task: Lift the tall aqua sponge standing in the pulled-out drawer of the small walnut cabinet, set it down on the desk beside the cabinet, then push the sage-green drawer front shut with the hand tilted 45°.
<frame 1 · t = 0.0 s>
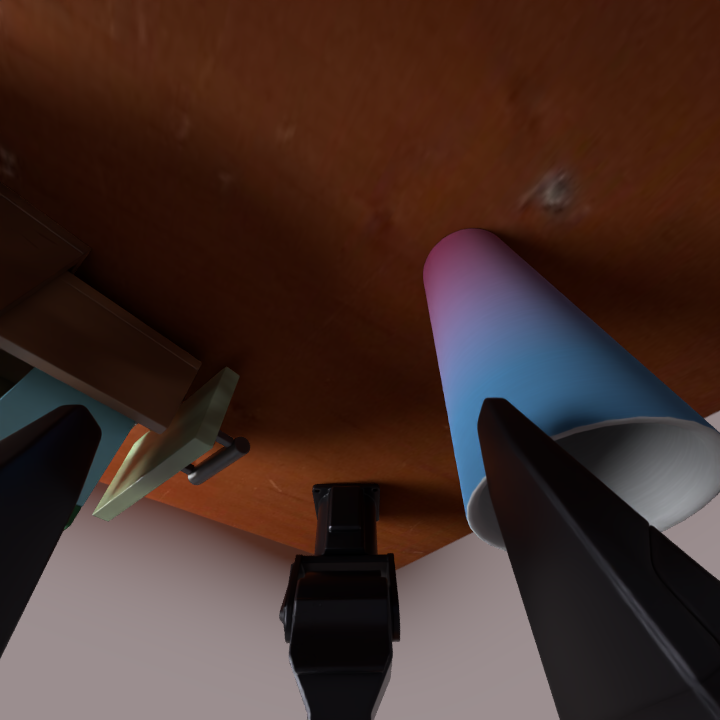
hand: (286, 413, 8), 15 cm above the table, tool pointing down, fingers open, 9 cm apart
sponge: (100, 378, 24), point 2 cm above the table, touching drawer
cup: (464, 268, 22), on the table
drawer: (116, 418, 24), point 4 cm above the table, slide at 10.0 cm, touching sponge
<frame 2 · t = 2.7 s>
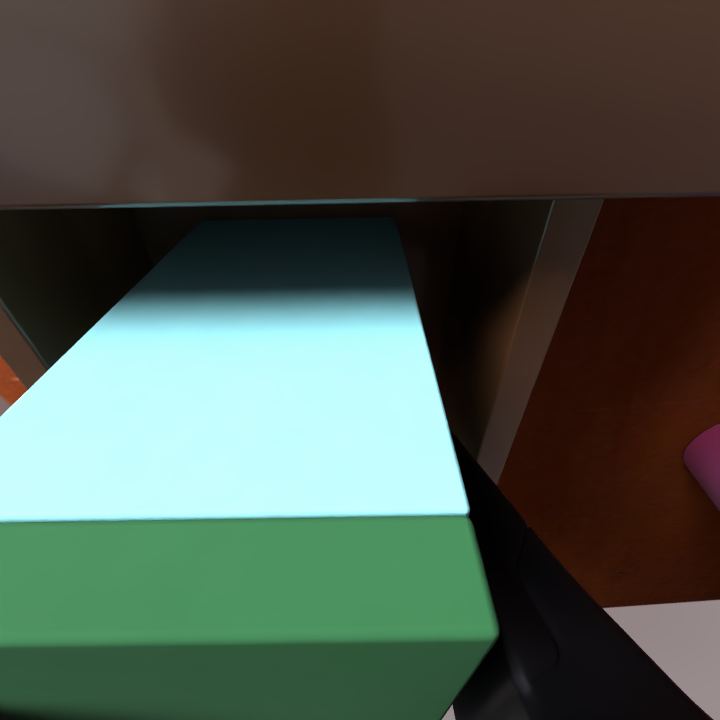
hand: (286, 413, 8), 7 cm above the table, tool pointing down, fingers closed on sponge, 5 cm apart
sponge: (308, 303, 12), point 2 cm above the table, touching drawer, gripper
drawer: (308, 393, 12), point 4 cm above the table, slide at 10.0 cm, touching sponge
when the fingers open (5 cm above the table, at t = 7.9 s): sponge stays where it is, on the table.
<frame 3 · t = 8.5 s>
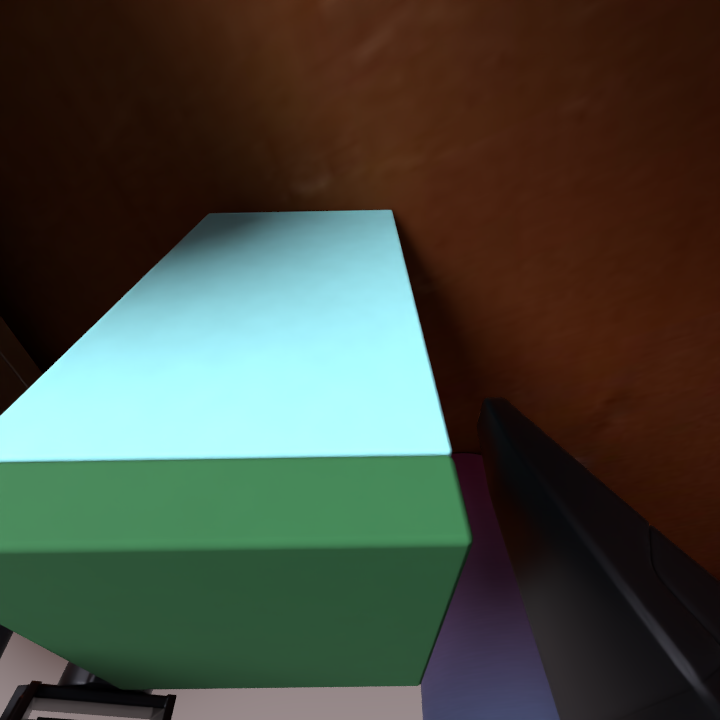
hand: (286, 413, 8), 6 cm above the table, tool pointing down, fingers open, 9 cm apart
sponge: (309, 293, 13), on the table
cup: (454, 478, 20), on the table
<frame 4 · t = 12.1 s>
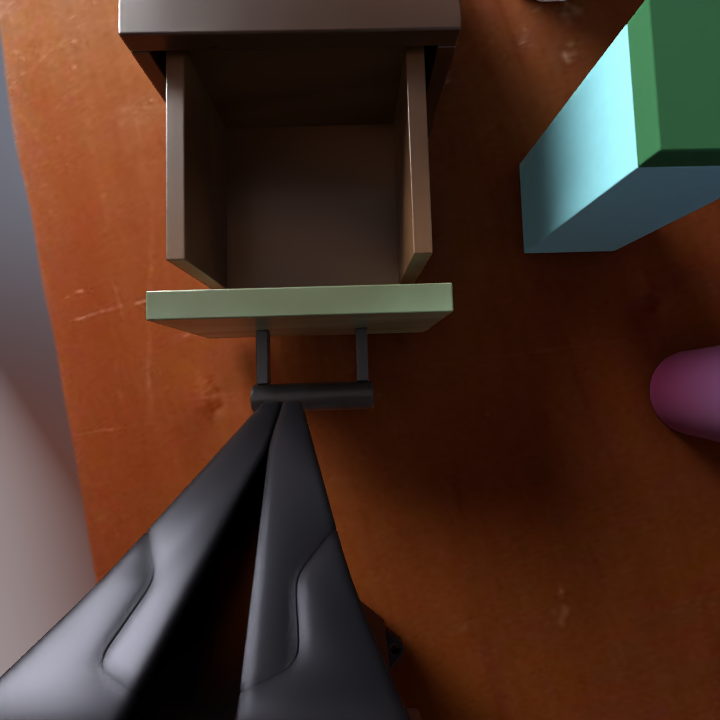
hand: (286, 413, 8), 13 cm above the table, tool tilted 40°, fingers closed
sponge: (566, 207, 23), on the table
cabinet: (311, 51, 23), on the table
cup: (687, 392, 22), on the table
drawer: (308, 243, 18), point 4 cm above the table, slide at 10.0 cm
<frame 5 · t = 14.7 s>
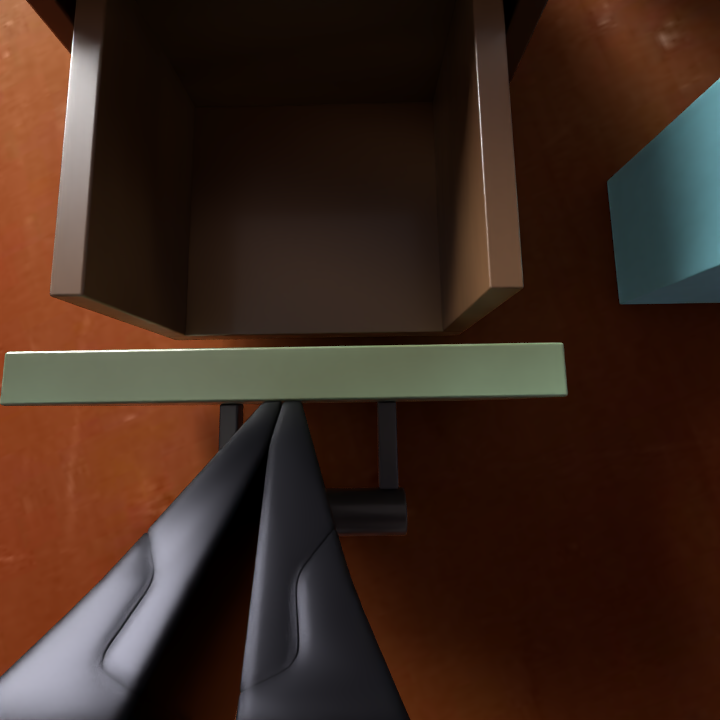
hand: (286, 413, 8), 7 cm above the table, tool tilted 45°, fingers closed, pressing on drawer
sponge: (677, 240, 16), on the table
cabinet: (319, 34, 17), on the table
drawer: (305, 268, 12), point 4 cm above the table, slide at 9.2 cm, touching gripper
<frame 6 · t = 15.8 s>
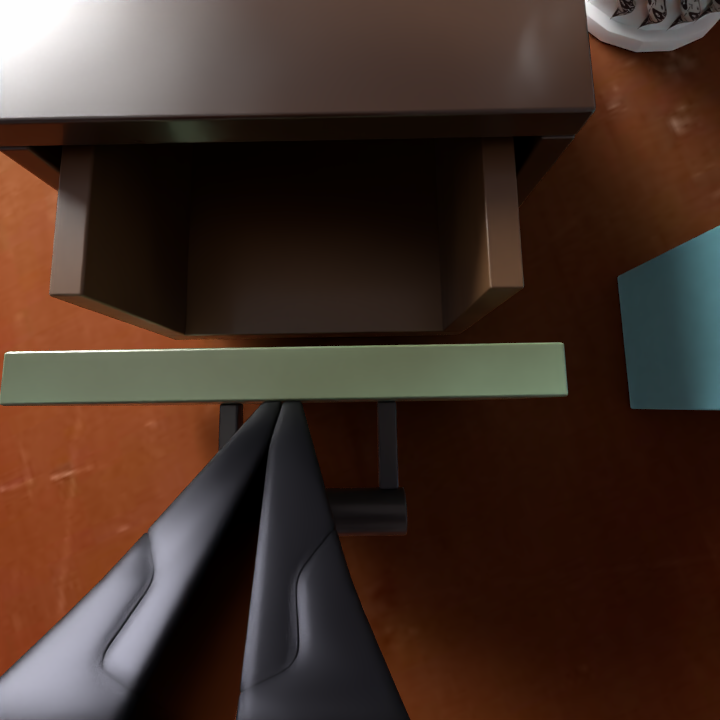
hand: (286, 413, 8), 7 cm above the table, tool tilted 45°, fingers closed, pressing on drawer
sponge: (690, 340, 15), on the table
cabinet: (319, 118, 17), on the table
drawer: (305, 268, 12), point 4 cm above the table, slide at 4.8 cm, touching gripper
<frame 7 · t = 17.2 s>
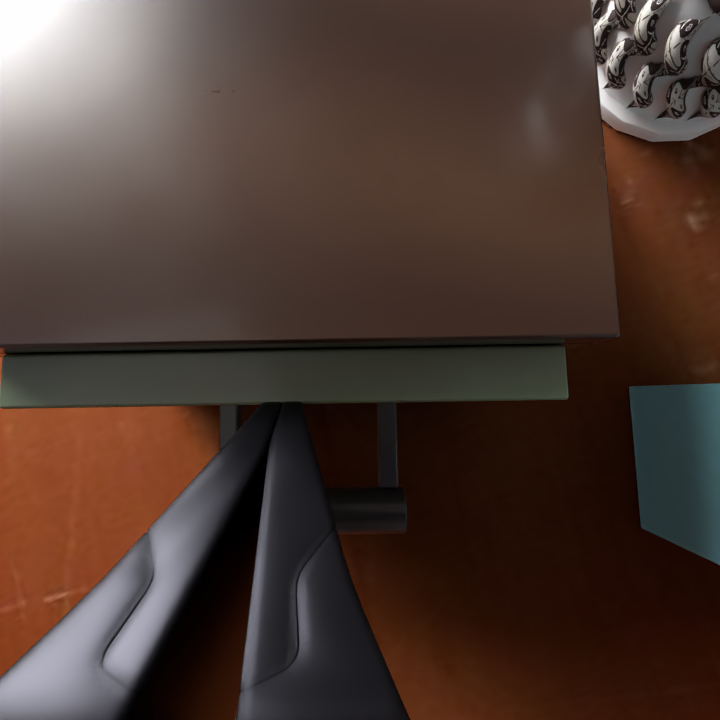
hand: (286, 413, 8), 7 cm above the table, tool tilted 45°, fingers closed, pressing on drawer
sponge: (703, 455, 15), on the table
cabinet: (319, 214, 16), on the table
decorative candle: (656, 58, 17), on the table
drawer: (304, 266, 11), point 4 cm above the table, slide at 0.0 cm, touching cabinet, gripper
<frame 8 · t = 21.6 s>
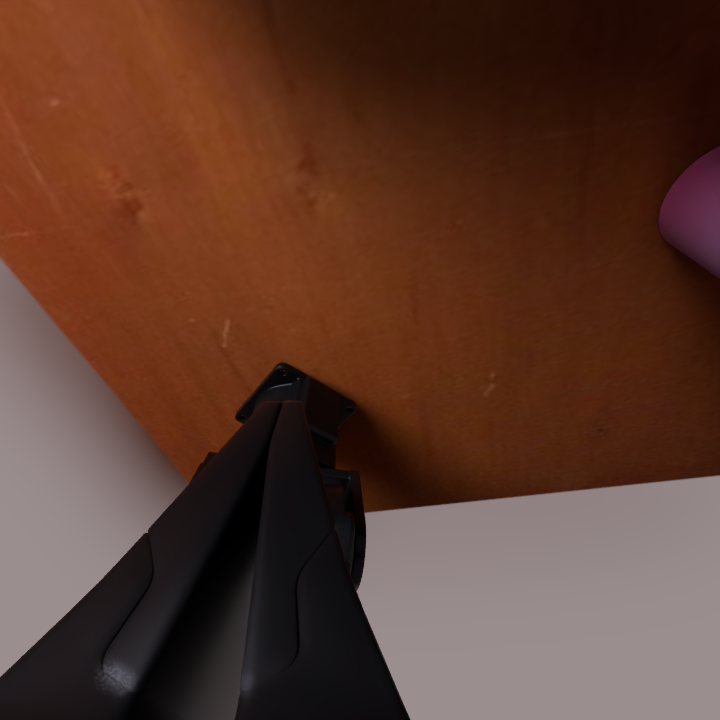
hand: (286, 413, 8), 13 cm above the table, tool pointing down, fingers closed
cup: (711, 196, 18), on the table
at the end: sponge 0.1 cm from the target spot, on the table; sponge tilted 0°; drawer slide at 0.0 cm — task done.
